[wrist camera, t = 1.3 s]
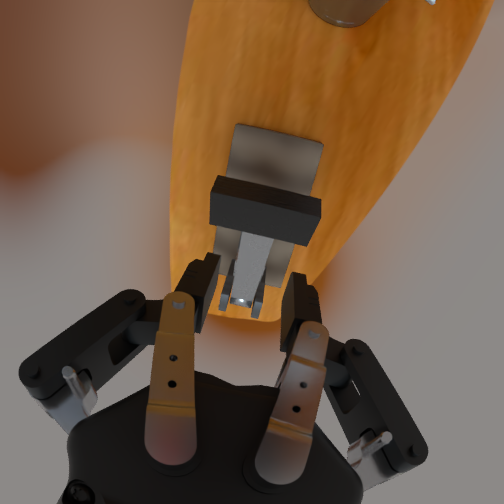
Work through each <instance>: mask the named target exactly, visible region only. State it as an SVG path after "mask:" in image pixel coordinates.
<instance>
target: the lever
mask: <svg viewBox="0 0 504 504" xmlns="http://www.w3.org/2000/svg"><path fill="white" fill-rule="evenodd" d="M320 219H321V199H318V198H314V197H311V196H307V195H303V194H299V193H295V192H291V191H287V190H283V189H279V188H275V187H271V186H266V185H262V184H258V183H253V182H249V181H244V180H239V179H235V178H230V177H225V176H220V175H218V176H217V178H216V180H215V183H214V185H213V187H212V190H211V193H210V222H209V224H211V225H215V226H220V227H224V228H229V229H233V230H238V231H242V236H241V242H240V247H239V249H238V253H237V256H236V260H235V266H234V272H233V276H234V282H233V288H232V293H231V299H230V304H235V305H239V306H243V307H248V308H251V305H252V301H253V299H254V296H255V293H256V290H257V287H258V284H259V282H260V281H261V278H262V275H263V272H264V270H265V266H266V261H267V258H268V255H269V252H270V249H271V246H272V243H273V240H274V239H277V240H281V241H285V242H289V243H294V244H298V245H302V246H306V247H307V245H308V243H309V241H310V239H311V237H312V235H313V233H314V231H315V229H316V227H317V225H318V223H319V221H320Z"/></svg>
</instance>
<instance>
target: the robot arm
mask: <svg viewBox="0 0 504 504" xmlns="http://www.w3.org/2000/svg"><path fill="white" fill-rule="evenodd" d="M308 1H309V4H310V6H311V8H312V10H313V11H314V12H315V13H316V14H317V15H318V16H319V17H320V18H321V19H323V20H325V21H326V22H328V23H330V24H333V25H336V26H340V27H356V26H359V25H361V24H363V23H365V22H366V21H367V20H368V19H369V18H370V17H371V16H372V15H373V14H375V13H376V12H377V11H378V10H379V9H380V8H381V7H382V6H383V5H384V4H385V3H387V2H388V1H389V0H308ZM220 262H221V255H218V254H214V253H209V252H208V253H207V254H206V257H205V259H204V261H202V260H198V259H195V260H194V261H192V262H191V263H189V265H188V267H187V268H186V270H185V272H184V274H183V276H182V278H181V279H180V281H179V283H178V285H177V287H176V289H175V291H174V292H171V293H169V294H167V295H166V296H165V297H164V299H163V300H146V299H145V296H144V294H143V293H141V292H140V291H138V290H134V289H127V290H124V291H121V292H120V293H118V294H117V295H115V296H114V297H112V298H111V299H109V300H108V301H106V302H105V303H104V304H102V305H101V306H99V307H97V308H96V309H95V310H93V311H92V312H90V313H89V314H87V315H86V316H85V317H83V318H82V319H80V320H79V321H77V322H76V323H75V324H73V325H72V326H70V327H69V328H68V329H67V330H65V331H63V332H62V333H61V334H59V335H58V336H56V337H55V338H54V339H52V340H51V341H50V342H48V343H47V344H45V345H44V346H43V347H41V348H40V349H39V350H38V351H36V352H35V353H33V354H32V355H31V356H29V357H28V358H27V359H25V360H24V361H23V362H22V363H21V365H20V367H19V378H20V380H21V382H22V383H23V385H24V386H25V387H26V389H27V390H28V391H29V393H30V395H31V396H32V397H33V399H34V400H35V401H36V402H37V403H38V405H39V406H40V407H41V408H42V409H43V410H45V412H46V413H47V414H48V415H49V416H50V417H51V418H53V419H55V421H56V422H57V423H58V424H59V425H60V426H61V427H62V428H63V430H64V431H65V432H66V433H67V434H68V435H69V437H68V441H67V452H68V458H69V480H68V483H67V486H66V488H65V490H64V492H63V493H62V495H61V497H60V499H59V500H58V502H57V504H361V500H362V498H363V492H364V491H366V490H368V489H370V488H372V487H373V486H376V485H378V484H381V483H383V482H385V481H388V480H390V479H392V478H395V477H397V476H399V475H401V474H403V473H405V472H407V471H409V470H411V469H413V468H415V467H416V466H418V465H420V464H422V463H423V462H424V461H425V460H426V458H427V456H428V447H427V444H426V442H425V440H424V438H423V436H422V435H421V433H420V431H419V429H418V428H417V426H416V424H415V422H414V421H413V419H412V417H411V415H410V413H409V412H408V410H407V408H406V407H405V405H404V403H403V401H402V400H401V398H400V396H399V395H398V393H397V392H396V390H395V388H394V386H393V385H392V383H391V382H390V380H389V378H388V377H387V375H386V373H385V372H384V370H383V368H382V367H381V365H380V364H379V362H378V360H377V359H376V357H375V356H374V354H373V353H372V351H371V349H370V348H369V346H367V344H366V343H364V342H363V341H361V340H358V339H350V340H348V341H347V342H346V343H345V344H344V343H341V342H339V341H337V340H335V339H333V338H331V337H330V336H329V332H328V330H327V328H326V327H325V326H324V325H322V319H321V311H320V306H319V305H320V304H319V297H318V292H317V291H316V289H315V288H314V286H312V285H307V279H306V275H305V274H301V273H296V272H292V273H291V275H290V278H289V281H288V284H287V287H286V289H285V292H284V295H283V299H282V307H281V339H280V351H281V352H286V358H285V360H284V362H283V365H282V368H281V370H280V373H279V376H278V378H277V381H276V384H275V386H274V387H269V386H263V385H253V386H235V385H232V384H230V383H228V382H226V381H223V380H221V379H219V378H217V377H215V376H213V375H210V374H206V373H202V372H198V371H194V333H195V332H196V333H199V334H200V333H201V329H202V327H203V324H204V321H205V318H206V315H207V312H208V309H209V306H210V303H211V300H212V298H213V295H214V292H215V289H216V285H217V280H218V274H219V268H220ZM147 345H155V346H154V353H153V361H152V370H151V381H150V385H148V386H147V387H145V388H143V389H141V390H139V391H137V392H136V393H134V394H132V395H130V396H128V397H127V398H124V399H122V400H120V401H118V402H117V403H115V404H113V405H111V406H109V407H107V408H105V409H103V410H101V411H99V412H97V413H95V414H93V415H91V416H90V412H91V410H92V409H93V407H94V406H95V405H96V403H97V398H98V397H97V392H96V391H97V390H99V389H100V388H101V387H102V386H103V385H104V384H105V383H106V382H108V381H109V380H110V379H111V378H112V377H113V376H114V375H115V374H116V373H118V371H120V370H121V369H122V368H123V367H124V366H125V365H126V364H128V363H129V362H130V361H131V360H132V359H133V358H134V357H135V356H136V355H138V354H139V353H140V352H141V351H142V350H143V349H144V348H145V347H146V346H147ZM352 381H354V384H355V385H356V387H357V389H358V391H359V393H360V395H359V393H358V392H357V390H356V388H355V386H354V384H353V382H352ZM323 388H324V390H325V392H326V394H327V397H328V399H329V401H330V403H331V405H332V407H333V409H334V412H335V414H336V416H337V418H338V420H339V422H340V425H341V427H342V429H343V431H344V433H345V435H346V438H347V440H348V442H349V444H350V446H349V448H348V451H347V455H348V457H347V460H346V459H345V458H344V457H343V456H342V454H341V453H340V452H339V451H338V450H337V448H336V447H335V446H334V445H333V444H332V442H331V441H330V440H329V439H328V438H327V436H326V435H325V434H324V433H323V432H322V430H321V429H320V428H319V426H318V425H317V424H316V423H315V419H316V415H317V411H318V406H319V402H320V398H321V394H322V389H323Z"/></svg>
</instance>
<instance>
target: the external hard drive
mask: <svg viewBox="0 0 504 504" xmlns="http://www.w3.org/2000/svg"><path fill="white" fill-rule="evenodd" d="M426 1H427V2H428V3H430V4H431V5H434V3H435V1H436V0H426Z"/></svg>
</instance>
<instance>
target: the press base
mask: <svg viewBox="0 0 504 504" xmlns="http://www.w3.org/2000/svg"><path fill="white" fill-rule="evenodd" d="M323 146H324V145H323V144H322V143H319V142H316V141H312V140H308V139H305V138H301V137H297V136H293V135H289V134H285V133H281V132H277V131H272V130H268V129H263V128H258V127H254V126H249V125H243V124H236V125H235V130H234V135H233V140H232V145H231V150H230V156H229V161H228V166H227V172H226V177H230V178H235V179H239V180H244V181H249V182H253V183H258V184H262V185H266V186H271V187H275V188H279V189H283V190H287V191H291V192H295V193H299V194H303V195H307V196H310V192H311V189H312V185H313V182H314V178H315V175H316V171H317V168H318V164H319V161H320V157H321V153H322V150H323ZM241 236H242V231H238V230H233V229H229V228H224V227H220V226H217V230H216V237H215V243H214V250H213V253H214V254H218V255H221V262H220V268H219V274H221V275H225V276H227V277H226V280H225V283H224V287H223V290H222V293H221V298H220V304H219V310H221V311H226V308H227V304H228V300H229V297H230V293H231V289H232V286H233V282H234V276H233V272H234V266H235V260H236V256H237V253H238V249H239V247H240V242H241ZM294 245H295V244H294V243H289V242H285V241H281V240H277V239H274V240H273V243H272V246H271V249H270V252H269V255H268V258H267V261H266V266H265V270H264V272H263V275H262V278H261V281H260V282H259V284H258V287H257V290H256V293H255V296H254V300H253V307H252V313H251V317H252V318H257V319H258V317H259V313H260V310H261V307H262V304H263V296H264V287H265V285H269V286H273V287H278V288H281V285H282V282H283V279H284V276H285V273H286V270H287V267H288V264H289V260H290V257H291V254H292V251H293V248H294Z"/></svg>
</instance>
